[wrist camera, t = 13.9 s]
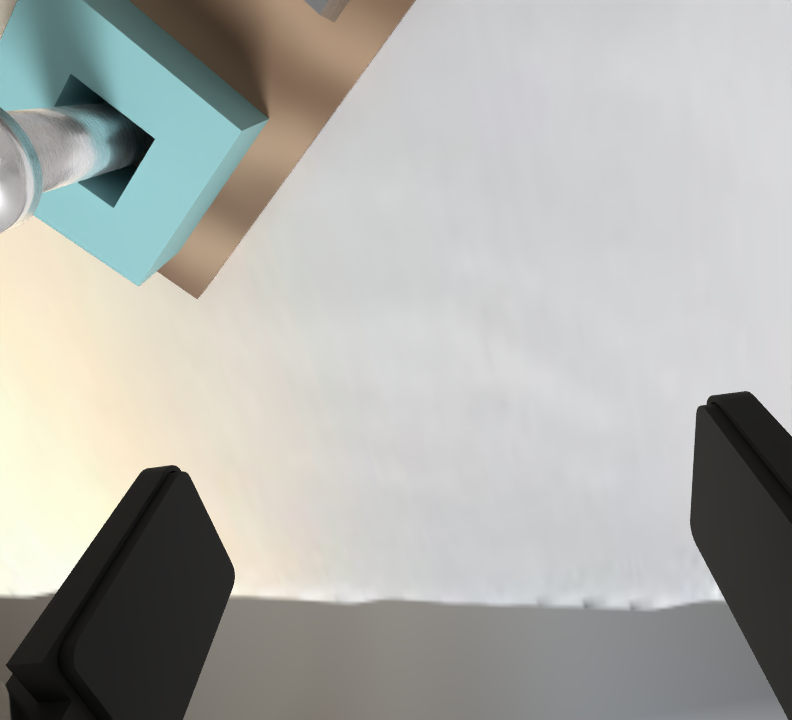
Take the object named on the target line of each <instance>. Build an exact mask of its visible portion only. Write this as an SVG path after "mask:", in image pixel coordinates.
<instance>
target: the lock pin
mask: <svg viewBox="0 0 792 720" xmlns="http://www.w3.org/2000/svg"><path fill="white" fill-rule="evenodd" d="M154 140H155V138H153V137H152V136H151V135H150V134H148V133H147V132H146V131H144V130H143V129H142V128H140V127H139V126H138V125H137V124H135V123H134V122H133V121H131V120H130V119H129V118H128V117H126V116H125V115H124V114H122V113H121V112H120V111H119V110H117V109H116V108H115V107H113V106H112V105H111V104H109V103H97V104H85V105H73V106H61V107H49V108H37V109H25V110H13V111H4V110H3V109H2V108H1V107H0V233H3V232H5V231H8V230H10V229H13V228H16V227H18V226H20V225H22V224H23V223H24V222H26V221H27V220H28V219H29V218H30V217H31V216H32V215H33V214H34V212H35V211H36V209H37V207H38V205H39V203H40V199H41V196H42V193H44V192H47V191H50V190H53V189H57V188H60V187H63V186H66V185H69V184H72V183H76V182H79V181H82V180H85V179H88V178H91V177H94V176H98V175H101V174H104V173H107V172H110V171H113V170H117V169H120V168H123V167H126V166H129V165H132V164H135V163H139V162H142V160H143V158H144V157H145V155H146V153H147V152H148V150H149V148H150V147H151V145H152V143H153V142H154Z"/></svg>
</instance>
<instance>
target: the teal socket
mask: <svg viewBox="0 0 792 720" xmlns="http://www.w3.org/2000/svg"><path fill="white" fill-rule="evenodd" d="M97 103H109V104H111V105H112V106H113V107H115V108H116V109H117V110H119V111H120V112H121V113H122V114H124V115H125V116H126V117H128V118H129V119H130V120H131V121H133V122H134V123H135V124H137V125H138V126H139V127H140V128H142V129H143V130H144V131H146V132H147V133H148V134H150V135H151V136H152V137H153V138H155V140H154V142H153V143H152V145H151V147H150V148H149V150H148V152H147V153H146V155H145V157H144V158H143V160H142V162H141V163H140V165H139V167H137V166H135V165H134V164H132V165H129V166H126V167H123V168H120V169H117V170H113V171H110V172H107V173H104V174H101V175H98V176H94V177H91V178H88V179H85V180H82V181H79V182H76V183H72V184H69V185H66V186H63V187H60V188H57V189H53V190H50V191H47V192H44V193H42V196H41V199H40V203H39V205H38V207H37V209H36V211H35V212H34V214H33V215H34V216H36V217H37V218H39V219H40V220H41V221H43V222H44V223H46V224H47V225H49V226H50V227H52V228H53V229H55V230H56V231H58V232H59V233H61V234H62V235H64V236H65V237H66V238H68V239H69V240H71V241H72V242H74V243H75V244H77V245H78V246H80V247H81V248H83V249H84V250H86V251H87V252H89V253H90V254H91V255H93V256H94V257H96V258H97V259H99V260H100V261H102V262H103V263H105V264H106V265H108V266H109V267H111V268H112V269H114V270H115V271H116V272H118V273H119V274H121V275H122V276H124V277H125V278H127V279H128V280H130V281H131V282H133V283H134V284H136V285H137V286H140V285H141V284H142V283H143V282H144V281H146V280H147V279H148V278H149V277H150V276H151V275H153V274H154V273H155V272H156V271H157V270H158V269H160V268H161V267H162V266H163V265H164V264H165V263H167V262H168V261H169V260H170V259H171V258H172V257H174V256H175V255H176V254H177V253H178V252H179V251H180V250H181V248H182V247H183V245H184V244H185V242H186V241H187V239H188V238H189V236H190V235H191V233H192V232H193V230H194V229H195V228H196V226H197V225H198V223H199V222H200V220H201V219H202V217H203V216H204V214H205V213H206V211H207V210H208V208H209V207H210V205H211V204H212V202H213V201H214V200H215V198H216V197H217V195H218V194H219V192H220V191H221V189H222V188H223V186H224V185H225V183H226V182H227V180H228V179H229V177H230V176H231V175H232V173H233V172H234V170H235V169H236V167H237V166H238V164H239V163H240V161H241V160H242V158H243V157H244V155H245V154H246V152H247V151H248V150H249V148H250V147H251V145H252V144H253V142H254V141H255V139H256V138H257V136H258V135H259V133H260V132H261V130H262V129H263V127H264V126H265V124H266V123H267V122H268V120H269V118H268V117H267V116H265V115H264V114H263V113H262V112H261V111H259V110H258V109H257V108H256V107H255V106H253V105H252V104H251V103H250V102H249V101H248V100H246V99H245V98H244V97H243V96H242V95H240V94H239V93H238V92H237V91H236V90H235V89H233V88H232V87H231V86H230V85H229V84H227V83H226V82H225V81H224V80H223V79H221V78H220V77H219V76H218V75H217V74H216V73H214V72H213V71H212V70H211V69H210V68H208V67H207V66H206V65H205V64H204V63H203V62H201V61H200V60H199V59H198V58H197V57H195V56H194V55H193V54H192V53H191V52H189V51H188V50H187V49H186V48H185V47H184V46H182V45H181V44H180V43H179V42H178V41H176V40H175V39H174V38H173V37H172V36H171V35H169V34H168V33H167V32H166V31H165V30H163V29H162V28H161V27H160V26H159V25H157V24H156V23H155V22H154V21H153V20H152V19H150V18H149V17H148V16H147V15H146V14H144V13H143V12H142V11H141V10H140V9H139V8H137V7H136V6H135V5H134V4H133V3H131V2H130V1H129V0H18V1H17V3H16V5H15V8H14V10H13V12H12V14H11V17H10V19H9V21H8V24H7V26H6V28H5V30H4V33H3V35H2V37H1V39H0V107H1V108H2V109H3V110H4V111H13V110H25V109H37V108H49V107H61V106H73V105H85V104H97Z"/></svg>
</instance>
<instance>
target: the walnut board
mask: <svg viewBox="0 0 792 720" xmlns="http://www.w3.org/2000/svg"><path fill="white" fill-rule="evenodd" d="M129 1H130V2H131V3H133V4H134V5H135V6H136V7H137V8H139V9H140V10H141V11H142V12H143V13H144V14H146V15H147V16H148V17H149V18H150V19H152V20H153V21H154V22H155V23H156V24H157V25H159V26H160V27H161V28H162V29H163V30H165V31H166V32H167V33H168V34H169V35H171V36H172V37H173V38H174V39H175V40H176V41H178V42H179V43H180V44H181V45H182V46H184V47H185V48H186V49H187V50H188V51H189V52H191V53H192V54H193V55H194V56H195V57H197V58H198V59H199V60H200V61H201V62H203V63H204V64H205V65H206V66H207V67H208V68H210V69H211V70H212V71H213V72H214V73H216V74H217V75H218V76H219V77H220V78H221V79H223V80H224V81H225V82H226V83H227V84H229V85H230V86H231V87H232V88H233V89H235V90H236V91H237V92H238V93H239V94H240V95H242V96H243V97H244V98H245V99H246V100H248V101H249V102H250V103H251V104H252V105H253V106H255V107H256V108H257V109H258V110H259V111H261V112H262V113H263V114H264V115H265V116H267V117H268V118H269V120H268V122H267V123H266V124H265V126H264V127H263V129H262V130H261V132H260V133H259V135H258V136H257V138H256V139H255V141H254V142H253V144H252V145H251V147H250V148H249V150H248V151H247V152H246V154H245V155H244V157H243V158H242V160H241V161H240V163H239V164H238V166H237V167H236V169H235V170H234V172H233V173H232V175H231V176H230V177H229V179H228V180H227V182H226V183H225V185H224V186H223V188H222V189H221V191H220V192H219V194H218V195H217V197H216V198H215V200H214V201H213V202H212V204H211V205H210V207H209V208H208V210H207V211H206V213H205V214H204V216H203V217H202V219H201V220H200V222H199V223H198V225H197V226H196V228H195V229H194V230H193V232H192V233H191V235H190V236H189V238H188V239H187V241H186V242H185V244H184V245H183V247H182V248H181V250H180V251H179V252H178V253H177V254H176V255H175V256H174V257H172V258H171V259H170V260H169V261H168V262H167V263H165V264H164V265H163V266H162V267H161V268H160V269H158V270H157V271H158V272H159V273H160V274H162V275H163V276H165V277H166V278H168V279H169V280H170V281H172V282H173V283H175V284H176V285H178V286H179V287H180V288H182V289H183V290H185V291H186V292H188V293H189V294H191V295H192V296H193V297H195V298H196V299H198V298H199V297H200V295H201V294H202V293H203V292H204V291H205V289H206V288H207V287H208V285H209V284H210V283H211V281H212V280H213V278H214V277H215V276H216V274H217V273H218V272H219V270H220V269H221V267H222V266H223V265H224V263H225V262H226V261H227V259H228V258H229V256H230V255H231V254H232V252H233V251H234V250H235V248H236V247H237V245H238V244H239V243H240V241H241V240H242V238H243V237H244V236H245V234H246V233H247V232H248V230H249V229H250V227H251V226H252V225H253V223H254V222H255V221H256V219H257V218H258V216H259V215H260V214H261V212H262V211H263V210H264V208H265V207H266V205H267V204H268V203H269V201H270V200H271V199H272V197H273V196H274V194H275V193H276V192H277V190H278V189H279V188H280V186H281V185H282V183H283V182H284V181H285V179H286V178H287V177H288V175H289V174H290V172H291V171H292V170H293V168H294V167H295V166H296V164H297V163H298V161H299V160H300V159H301V157H302V156H303V155H304V153H305V152H306V150H307V149H308V148H309V146H310V145H311V144H312V142H313V141H314V139H315V138H316V137H317V135H318V134H319V133H320V131H321V130H322V128H323V127H324V126H325V124H326V123H327V122H328V120H329V119H330V117H331V116H332V115H333V113H334V112H335V111H336V109H337V108H338V106H339V105H340V104H341V102H342V101H343V100H344V98H345V97H346V95H347V94H348V93H349V91H350V90H351V89H352V87H353V86H354V84H355V83H356V82H357V80H358V79H359V78H360V76H361V75H362V73H363V72H364V71H365V69H366V68H367V67H368V65H369V64H370V62H371V61H372V60H373V58H374V57H375V56H376V54H377V53H378V51H379V50H380V49H381V47H382V46H383V45H384V43H385V42H386V40H387V39H388V38H389V36H390V35H391V34H392V32H393V31H394V29H395V28H396V27H397V25H398V24H399V23H400V21H401V20H402V18H403V17H404V16H405V14H406V13H407V12H408V10H409V9H410V7H411V6H412V5H413V3H414V2H415V1H416V0H350V1H349V2H348V4H347V5H346V7H345V8H344V10H343V11H342V13H341V14H340V16H339V17H338V18H337V20H336V21H335V23H334V22H332V21H330V20H329V19H327V18H325V17H323V16H321V15H319V14H318V13H317V12H316V11H315V10H314V9H313V8H312V7H311V6H310V5H308V4H307V3H306V2H305V1H304V0H129ZM140 163H141V162H139V163H135V164H134V165H135V166H137V167H139V165H140Z"/></svg>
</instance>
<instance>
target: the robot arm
mask: <svg viewBox="0 0 792 720" xmlns="http://www.w3.org/2000/svg"><path fill="white" fill-rule="evenodd" d="M690 525H691V531H692V535H693V538H694V541H695V543H696V545H697V547H698V549H699V551H700V553H701V555H702V557H703V558H704V560H705V562H706V564H707V566H708V568H709V570H710V572H711V574H712V575H713V577H714V579H715V581H716V583H717V585H718V587H719V589H720V591H721V593H722V594H723V596H724V598H725V600H726V602H727V604H728V606H729V608H730V610H731V611H732V613H733V615H734V617H735V619H736V621H737V623H738V625H739V627H740V628H741V630H742V632H743V634H744V636H745V638H746V640H747V642H748V644H749V646H750V648H751V649H752V651H753V653H754V655H755V657H756V659H757V661H758V662H759V665H760V667H761V668H762V670H763V672H764V674H765V676H766V678H767V680H768V682H769V684H770V685H771V687H772V689H773V691H774V693H775V695H776V697H777V699H778V701H779V703H780V704H781V706H782V708H783V710H784V712H785V714H786V716H787V718H788V720H792V436H791V435H790V434H789V433H788V432H787V431H786V430H785V429H784V428H783V427H782V426H781V424H780V423H779V422H778V421H777V420H776V419H775V418H774V417H773V416H772V415H771V414H770V413H769V411H768V410H767V409H766V408H765V407H764V406H763V405H762V404H761V403H760V402H759V401H758V400H757V398H756V397H755V396H754V395H753V394H751V393H750V392H747V391H744V392H736V393H728V394H721V395H713V396H710V397H709V398H708V400H707V405H703V406H699V407H698V409H697V413H696V429H695V446H694V463H693V481H692V498H691V515H690ZM234 580H235V572H234V567H233V565H232V563H231V560H230V558H229V556H228V554H227V552H226V550H225V548H224V546H223V544H222V542H221V540H220V538H219V536H218V534H217V531H216V529H215V527H214V525H213V523H212V521H211V519H210V517H209V515H208V513H207V511H206V509H205V507H204V505H203V502H202V500H201V498H200V496H199V494H198V492H197V490H196V488H195V486H194V484H193V482H192V480H191V478H190V476H189V474H188V473H186V472H183V471H181V470H180V468H178V467H177V466H174V465H170V466H163V467H155V468H147V469H145V470H143V471H142V472H141V473H140V474H139V476H138V477H137V478H136V480H135V481H134V483H133V484H132V486H131V487H130V488H129V490H128V491H127V493H126V494H125V496H124V497H123V498H122V500H121V501H120V503H119V504H118V506H117V507H116V508H115V510H114V511H113V513H112V514H111V516H110V517H109V518H108V520H107V521H106V523H105V524H104V526H103V527H102V528H101V530H100V531H99V533H98V534H97V536H96V537H95V538H94V540H93V541H92V543H91V544H90V546H89V547H88V548H87V550H86V551H85V553H84V554H83V556H82V557H81V558H80V560H79V561H78V563H77V564H76V566H75V567H74V568H73V570H72V571H71V573H70V574H69V576H68V577H67V579H66V580H65V581H64V583H63V584H62V586H61V587H60V589H59V590H58V591H57V593H56V594H55V596H54V597H53V599H52V600H51V601H50V603H49V604H48V606H47V607H46V609H45V610H44V612H43V613H42V614H41V616H40V617H39V619H38V620H37V621H36V623H35V624H34V626H33V627H32V629H31V630H30V631H29V633H28V634H27V636H26V637H25V639H24V640H23V641H22V643H21V644H20V646H19V647H18V649H17V650H16V652H15V653H14V654H13V656H12V657H11V659H10V660H9V662H8V663H7V664H6V666H7V667H8V669H9V670H10V671H11V672H12V673H13V674H12V676H11V677H10V679H9V680H8V682H7V683H6V685H5V684H3V683H1V682H0V720H183V718H184V715H185V712H186V710H187V707H188V705H189V702H190V699H191V697H192V694H193V691H194V689H195V686H196V683H197V681H198V678H199V675H200V673H201V670H202V667H203V665H204V662H205V659H206V657H207V654H208V652H209V649H210V646H211V643H212V641H213V638H214V636H215V633H216V630H217V628H218V625H219V623H220V620H221V617H222V614H223V612H224V609H225V607H226V604H227V601H228V599H229V596H230V593H231V591H232V588H233V585H234Z"/></svg>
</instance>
